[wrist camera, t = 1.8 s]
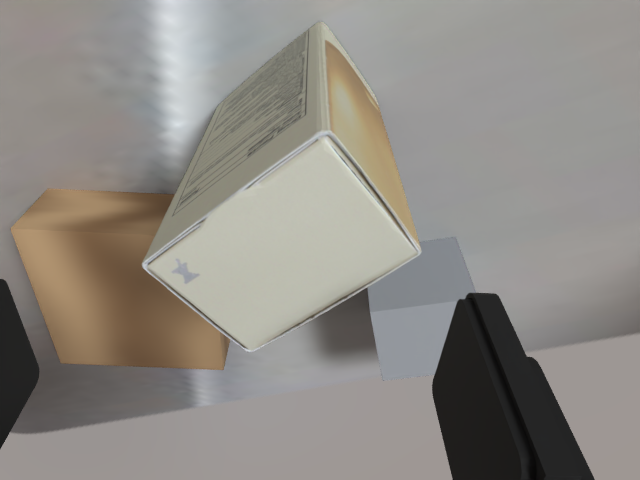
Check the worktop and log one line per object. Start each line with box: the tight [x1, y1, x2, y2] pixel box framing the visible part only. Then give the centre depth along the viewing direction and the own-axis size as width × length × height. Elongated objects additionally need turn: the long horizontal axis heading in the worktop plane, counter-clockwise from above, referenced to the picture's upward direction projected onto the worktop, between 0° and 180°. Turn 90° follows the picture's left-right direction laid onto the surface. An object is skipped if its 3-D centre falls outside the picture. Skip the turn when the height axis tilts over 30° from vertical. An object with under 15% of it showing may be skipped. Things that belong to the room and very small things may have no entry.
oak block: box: [11, 189, 230, 370], centre depth 27 cm, size 9×9×4 cm
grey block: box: [367, 237, 476, 381], centre depth 27 cm, size 5×5×5 cm
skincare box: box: [142, 22, 422, 352], centre depth 18 cm, size 6×4×12 cm
